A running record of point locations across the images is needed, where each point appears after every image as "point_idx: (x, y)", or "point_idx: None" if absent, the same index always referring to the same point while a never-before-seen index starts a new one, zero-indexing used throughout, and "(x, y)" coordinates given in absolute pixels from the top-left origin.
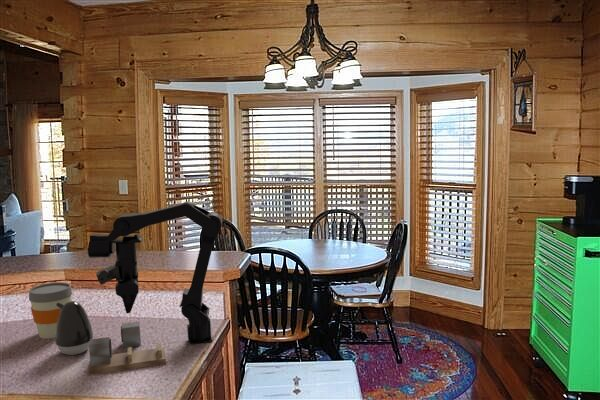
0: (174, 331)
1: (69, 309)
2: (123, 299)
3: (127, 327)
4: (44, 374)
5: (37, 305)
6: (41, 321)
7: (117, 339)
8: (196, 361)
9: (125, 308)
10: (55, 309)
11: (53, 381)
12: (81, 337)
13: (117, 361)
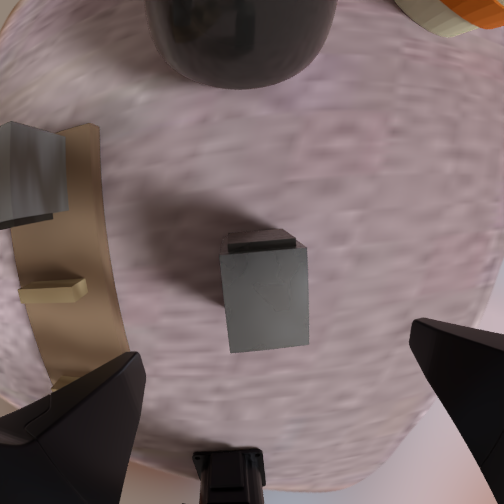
0: (332, 407)
1: None
2: (4, 426)
3: (225, 288)
4: (74, 17)
5: None
6: None
7: (329, 200)
8: None
9: (93, 373)
10: None
11: (21, 63)
12: (155, 42)
13: (37, 242)
